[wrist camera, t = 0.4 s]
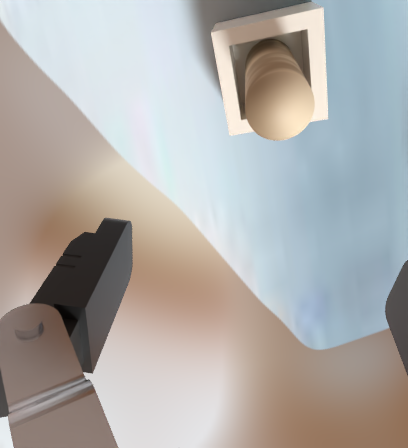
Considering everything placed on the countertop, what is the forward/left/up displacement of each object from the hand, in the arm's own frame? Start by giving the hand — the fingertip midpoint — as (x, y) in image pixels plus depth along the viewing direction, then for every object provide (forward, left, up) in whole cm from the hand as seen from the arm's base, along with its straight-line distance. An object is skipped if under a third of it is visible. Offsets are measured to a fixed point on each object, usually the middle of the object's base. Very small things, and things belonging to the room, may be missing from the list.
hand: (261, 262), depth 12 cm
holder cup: (-1, -1, -23) cm, 24 cm away
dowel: (-1, -1, -23) cm, 23 cm away
